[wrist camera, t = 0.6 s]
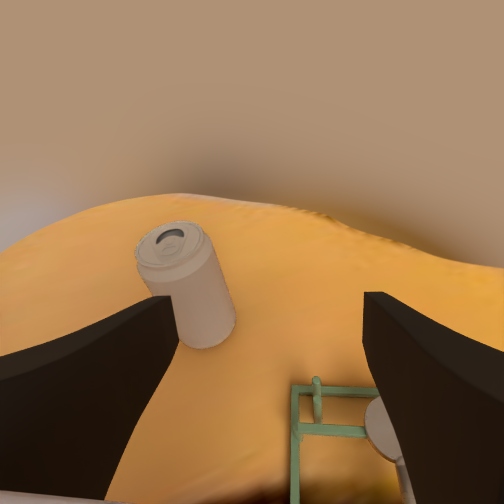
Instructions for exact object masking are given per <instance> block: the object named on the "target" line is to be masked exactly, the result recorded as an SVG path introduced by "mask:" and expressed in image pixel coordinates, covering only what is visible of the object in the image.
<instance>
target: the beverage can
mask: <svg viewBox="0 0 504 504" xmlns="http://www.w3.org/2000/svg"><path fill="white" fill-rule="evenodd" d="M135 257H136V259H137V269H138V272H139V274H140V275H141V277H142V279H143V280H144V282H145V283H146V285H147V287H148V288H149V290H150V292H151V293H152V295H153V296H165V295H171V299H172V304H173V310H174V315H175V320H176V326H177V331H178V336H179V338H180V340H181V341H182V342H183V343H184V344H185V345H187V346H189V347H191V348H195V349H206V348H210V347H213V346H216V345H217V344H219V343H221V342H222V341H224V340H225V339H226V338H227V337H228V336H229V335H230V333H231V332H232V330H233V328H234V326H235V323H236V312H235V308H234V306H233V303H232V300H231V297H230V294H229V291H228V288H227V285H226V282H225V279H224V276H223V273H222V270H221V268H220V265H219V262H218V259H217V256H216V253H215V250H214V247H213V244H212V241H211V239H210V238H209V236H208V235H207V234H205V233H204V232H203V230H202V228H201V227H200V226H199V225H198V224H196V223H194V222H191V221H174V222H170V223H166V224H164V225H161V226H159V227H157V228H155V229H153V230H152V231H150V232H149V233H147V234H146V235H145V236H144V237H143V238H142V239H141V240H140V242H139V243H138V245H137V247H136V250H135Z"/></svg>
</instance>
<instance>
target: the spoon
mask: <svg viewBox="0 0 504 504" xmlns="http://www.w3.org/2000/svg"><path fill="white" fill-rule="evenodd" d="M364 429H365V433H366V436H367V438H368V440H369V442H370V444H371V445H372V447H373V448H374V449H375V450H376V451H377V453H379V454H380V455H381V456H382V457H383V458H385V459H386V460H388V461H390V462H392V463H395V467H396V472H397V477H398V482H399V487H400V492H401V497H402V502H403V504H416V501H415V497H414V494H413V490H412V486H411V483H410V479H409V476H408V472H407V469H406V466H405V462H404V459H403V456H402V452H401V449H400V446H399V442H398V440H397V437H396V434H395V431H394V428H393V426H392V423H391V421H390V419H389V416H388V414H387V411H386V409H385V406H384V404H383V401H382V399H381V396H379V397H377V398H375V399H374V400H372V401H371V402H370V403H369V405H368V406H367V408H366V411H365V415H364Z"/></svg>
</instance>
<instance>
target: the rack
mask: <svg viewBox="0 0 504 504" xmlns="http://www.w3.org/2000/svg"><path fill="white" fill-rule="evenodd" d="M299 395H313V408H314V421H315V423H299ZM321 396H345V397H368V398H377V397H379V396H380V394H379V392H378V389H377V388H367V387H339V386H321V380H320V378H319V377H317V376H315V377H313V378H312V386H311V385H291V465H290V504H300V473H299V443H300V442H302V441H303V434H305V435H320V436H335V437H349V438H364V439H368V438H367V436H366V433H365V429H364V426H348V425H331V424H322V398H321Z"/></svg>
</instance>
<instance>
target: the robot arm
mask: <svg viewBox="0 0 504 504" xmlns="http://www.w3.org/2000/svg"><path fill="white" fill-rule="evenodd" d="M178 343H179V336H178V331H177V326H176V320H175V315H174V310H173V304H172V299H171V295H165V296H153V297H150V298H148V299H145V300H143V301H141V302H139V303H136V304H134V305H132V306H130V307H128V308H126V309H124V310H122V311H120V312H118V313H115V314H113V315H111V316H109V317H107V318H105V319H103V320H100V321H98V322H96V323H94V324H92V325H89V326H87V327H85V328H83V329H80V330H78V331H76V332H73V333H71V334H68V335H65V336H63V337H60V338H57V339H55V340H52V341H49V342H46V343H43V344H40V345H37V346H34V347H31V348H27V349H24V350H21V351H18V352H14V353H11V354H8V355H4V356H1V357H0V504H134V503H123V502H113V501H104V499H105V496H106V494H107V491H108V488H109V486H110V484H111V481H112V479H113V476H114V474H115V472H116V469H117V467H118V464H119V462H120V459H121V457H122V455H123V453H124V450H125V448H126V446H127V444H128V441H129V439H130V437H131V435H132V432H133V430H134V428H135V426H136V424H137V422H138V420H139V418H140V416H141V415H142V413H143V411H144V409H145V408H146V406H147V404H148V402H149V401H150V399H151V397H152V395H153V394H154V392H155V390H156V388H157V387H158V385H159V383H160V381H161V380H162V378H163V376H164V374H165V372H166V371H167V369H168V367H169V365H170V363H171V361H172V358H173V356H174V354H175V351H176V348H177V346H178ZM362 343H363V347H364V351H365V355H366V359H367V362H368V366H369V369H370V372H371V374H372V377H373V379H374V382H375V384H376V387H377V389H378V392H379V394H380V396H381V399H382V401H383V404H384V406H385V409H386V411H387V414H388V416H389V419H390V421H391V423H392V426H393V428H394V431H395V434H396V437H397V440H398V442H399V446H400V449H401V452H402V456H403V459H404V462H405V466H406V469H407V472H408V476H409V479H410V483H411V486H412V490H413V494H414V497H415V501H416V504H504V352H502V351H500V350H497V349H495V348H492V347H490V346H487V345H485V344H483V343H480V342H478V341H475V340H473V339H471V338H468V337H466V336H464V335H462V334H460V333H457V332H455V331H453V330H451V329H449V328H447V327H445V326H443V325H441V324H439V323H438V322H436V321H434V320H432V319H430V318H428V317H426V316H425V315H423V314H421V313H419V312H418V311H416V310H414V309H412V308H411V307H409V306H407V305H406V304H404V303H402V302H401V301H399V300H397V299H396V298H394V297H392V296H390V295H388V294H387V293H384V292H364V308H363V336H362Z"/></svg>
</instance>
